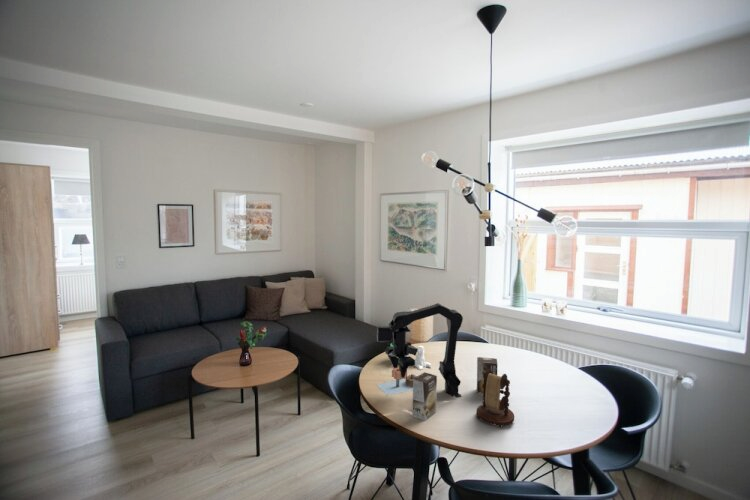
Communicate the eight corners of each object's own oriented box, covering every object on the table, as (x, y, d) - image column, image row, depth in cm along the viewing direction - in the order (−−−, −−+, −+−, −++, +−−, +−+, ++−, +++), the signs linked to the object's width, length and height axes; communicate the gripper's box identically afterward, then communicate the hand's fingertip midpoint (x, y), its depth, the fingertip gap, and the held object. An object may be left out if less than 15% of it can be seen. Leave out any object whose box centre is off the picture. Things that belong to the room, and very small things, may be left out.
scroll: (469, 418, 151) (470, 371, 149) (487, 405, 161) (488, 361, 159) (503, 433, 140) (505, 383, 139) (520, 418, 151) (522, 371, 149)
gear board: (428, 389, 177) (428, 387, 177) (386, 397, 169) (386, 395, 169) (416, 378, 188) (416, 377, 188) (376, 386, 180) (376, 384, 180)
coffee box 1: (425, 421, 149) (425, 383, 147) (411, 416, 153) (412, 378, 151) (436, 412, 156) (437, 375, 154) (423, 407, 160) (424, 371, 159)
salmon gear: (409, 378, 166) (409, 371, 166) (396, 380, 164) (396, 374, 163) (402, 372, 172) (402, 366, 172) (389, 374, 170) (389, 368, 169)
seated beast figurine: (420, 372, 196) (420, 350, 195) (408, 367, 203) (409, 346, 202) (432, 367, 202) (432, 346, 201) (420, 362, 209) (421, 342, 208)
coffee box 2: (496, 391, 174) (497, 358, 173) (497, 397, 168) (498, 363, 167) (476, 389, 177) (477, 356, 175) (476, 395, 171) (477, 361, 169)
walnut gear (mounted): (422, 383, 180) (422, 374, 180) (413, 388, 175) (413, 379, 175) (411, 379, 185) (411, 370, 184) (402, 383, 180) (402, 374, 180)
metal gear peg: (399, 387, 177) (399, 377, 176) (396, 387, 176) (396, 378, 176) (398, 385, 178) (398, 376, 178) (395, 386, 178) (395, 377, 177)
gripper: (425, 344, 161) (425, 379, 163) (405, 332, 178) (405, 363, 180) (403, 348, 157) (403, 383, 158) (384, 335, 174) (384, 367, 175)
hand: (399, 374), depth 168 cm, fingers closed on salmon gear, 7 cm apart
